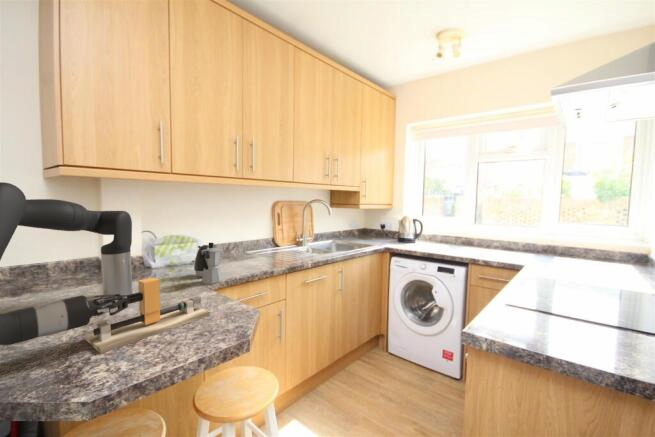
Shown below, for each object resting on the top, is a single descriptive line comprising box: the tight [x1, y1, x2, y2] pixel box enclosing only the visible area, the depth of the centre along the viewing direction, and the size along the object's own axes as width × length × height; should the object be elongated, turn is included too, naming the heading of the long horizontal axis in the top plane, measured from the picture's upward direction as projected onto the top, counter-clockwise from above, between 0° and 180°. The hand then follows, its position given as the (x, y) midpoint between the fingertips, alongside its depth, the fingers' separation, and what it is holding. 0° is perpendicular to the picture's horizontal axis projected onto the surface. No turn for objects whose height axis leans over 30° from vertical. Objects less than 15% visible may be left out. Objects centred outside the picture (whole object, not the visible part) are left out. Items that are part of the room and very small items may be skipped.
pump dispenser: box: [193, 244, 209, 278], centre depth 143 cm, size 10×10×15 cm
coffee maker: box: [201, 242, 223, 285], centre depth 132 cm, size 15×9×18 cm, turn 178°
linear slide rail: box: [84, 295, 211, 354], centre depth 87 cm, size 12×29×5 cm, turn 143°
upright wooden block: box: [137, 277, 161, 325], centre depth 86 cm, size 4×4×12 cm
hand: (141, 296), depth 84 cm, fingers closed
